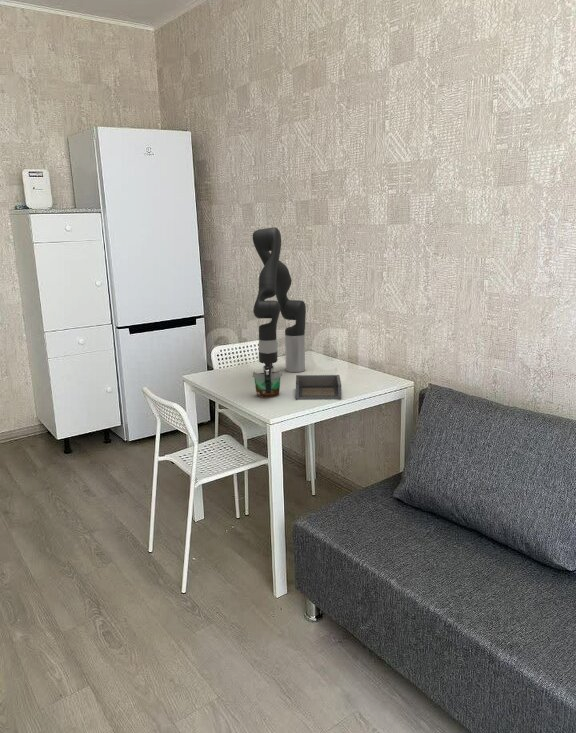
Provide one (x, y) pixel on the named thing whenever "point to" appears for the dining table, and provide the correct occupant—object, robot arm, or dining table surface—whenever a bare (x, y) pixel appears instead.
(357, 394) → the dining table surface
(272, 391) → the food container
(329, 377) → the keeper cradle
